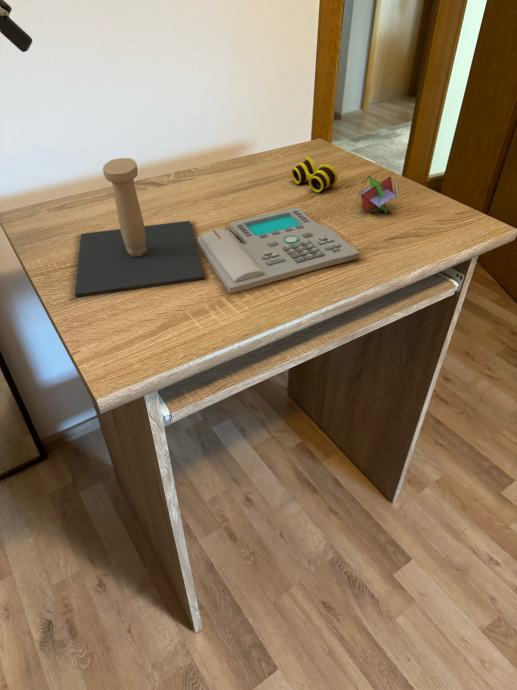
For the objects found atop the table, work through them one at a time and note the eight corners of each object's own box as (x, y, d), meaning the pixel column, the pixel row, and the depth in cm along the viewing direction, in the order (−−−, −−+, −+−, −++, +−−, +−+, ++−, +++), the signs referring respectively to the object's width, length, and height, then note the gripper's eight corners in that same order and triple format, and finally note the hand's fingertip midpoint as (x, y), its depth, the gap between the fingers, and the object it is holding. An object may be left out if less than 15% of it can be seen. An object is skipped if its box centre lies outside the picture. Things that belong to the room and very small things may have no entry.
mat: (75, 297, 75) (74, 294, 74) (81, 236, 89) (80, 233, 89) (204, 279, 78) (204, 276, 77) (190, 223, 93) (189, 220, 92)
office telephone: (229, 281, 73) (187, 225, 87) (230, 295, 74) (189, 238, 88) (360, 245, 80) (302, 198, 93) (359, 259, 81) (301, 211, 95)
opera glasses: (290, 184, 108) (287, 163, 104) (307, 174, 109) (305, 153, 106) (321, 198, 102) (319, 176, 98) (338, 187, 103) (337, 165, 100)
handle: (153, 243, 86) (137, 157, 76) (150, 262, 81) (133, 173, 71) (125, 244, 85) (106, 159, 76) (120, 263, 81) (99, 174, 71)
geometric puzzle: (363, 212, 90) (390, 173, 87) (343, 198, 95) (369, 161, 92) (385, 227, 94) (412, 191, 92) (365, 213, 99) (390, 178, 96)
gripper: (-82, -34, 65) (27, 64, 71) (-165, -26, 54) (-28, 88, 60) (-64, -88, 61) (50, 20, 67) (-149, -91, 50) (-4, 39, 56)
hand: (13, 53), depth 64 cm, fingers open, 8 cm apart
